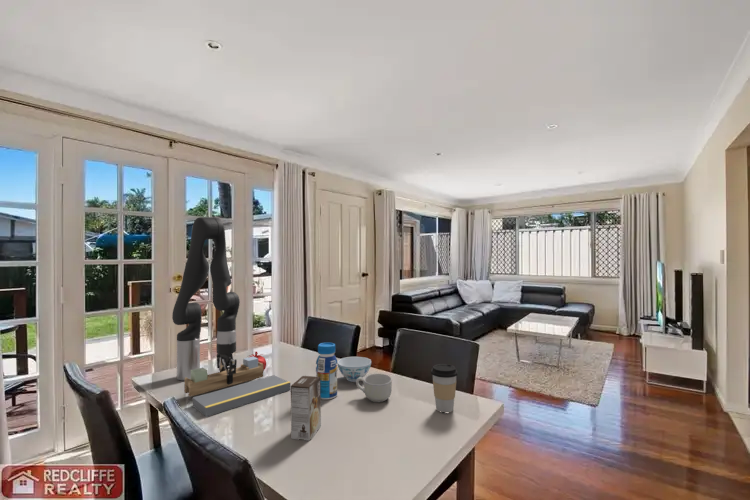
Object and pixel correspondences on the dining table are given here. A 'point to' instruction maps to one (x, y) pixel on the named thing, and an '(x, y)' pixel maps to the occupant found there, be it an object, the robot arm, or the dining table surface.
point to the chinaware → (354, 367)
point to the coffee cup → (444, 386)
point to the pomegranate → (260, 359)
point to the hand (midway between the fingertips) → (226, 381)
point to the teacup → (376, 386)
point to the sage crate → (199, 375)
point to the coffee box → (305, 407)
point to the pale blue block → (250, 362)
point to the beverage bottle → (327, 370)
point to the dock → (239, 395)
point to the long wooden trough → (222, 380)
